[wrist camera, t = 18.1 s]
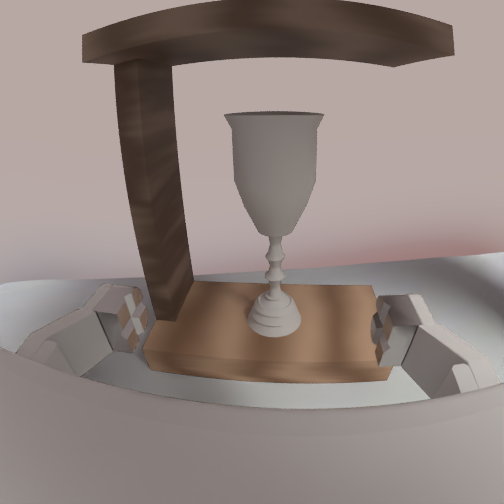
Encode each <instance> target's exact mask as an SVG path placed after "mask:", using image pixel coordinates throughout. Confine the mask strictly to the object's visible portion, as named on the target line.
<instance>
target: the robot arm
mask: <svg viewBox="0 0 504 504" xmlns="http://www.w3.org/2000/svg"><path fill="white" fill-rule="evenodd" d="M142 298H143V296H142V293H141V290H140V289H139V288H138V287H130V286H121V285H111V284H103V285H101V286H100V287H99V288H98V289H97V290H96V292H95V293H94V294H93V295H92V296H91V298H90V299H89V300H88V301H87V303H86V304H85V305H84V306H83V308H82V309H77V310H75V311H73V312H71V313H69V314H67V315H65V316H64V317H62V318H60V319H58V320H56V321H54V322H52V323H50V324H48V325H46V326H44V327H43V328H41V329H39V330H37V331H35V332H33V333H31V334H30V335H29V336H28V338H27V339H26V340H25V342H24V343H23V344H22V345H21V347H20V348H19V349H18V351H17V352H16V353H12V352H10V351H8V350H5V349H3V348H1V347H0V504H504V383H500V381H499V379H498V377H497V375H496V373H495V370H494V368H493V366H492V364H491V362H490V360H489V358H488V357H486V356H485V355H483V354H482V353H481V352H479V351H478V350H476V349H475V348H474V347H472V346H471V345H469V344H468V343H466V342H465V341H464V340H462V339H461V338H459V337H458V336H456V335H455V334H454V333H452V332H451V331H449V330H448V329H446V328H445V327H443V326H442V325H441V324H436V323H435V321H434V319H433V317H432V315H431V313H430V311H429V309H428V307H427V305H426V303H425V302H424V300H423V298H422V296H421V295H420V294H406V295H383V296H378V298H377V301H376V305H375V306H376V309H377V312H376V313H375V314H374V315H373V316H372V320H371V328H370V333H371V339H372V343H374V344H375V345H376V346H377V347H376V350H375V355H376V359H377V363H378V367H386V366H401V367H402V368H403V369H404V370H405V371H406V372H407V374H408V375H409V376H410V377H411V378H412V379H413V380H414V381H415V382H416V383H417V384H418V385H419V386H420V388H421V389H422V390H423V391H424V392H425V393H426V394H427V395H428V396H429V397H430V398H431V399H428V400H422V401H415V402H408V403H400V404H391V405H381V406H370V407H356V408H335V409H278V408H258V407H243V406H232V405H222V404H213V403H204V402H197V401H190V400H183V399H177V398H171V397H165V396H159V395H154V394H149V393H144V392H139V391H134V390H130V389H125V388H121V387H117V386H113V385H109V384H105V383H101V382H98V381H94V380H90V379H87V378H83V377H81V376H82V375H83V374H85V373H86V372H87V371H88V370H90V369H91V368H92V367H93V366H95V365H96V364H97V363H99V362H100V361H101V360H102V359H104V358H105V357H106V356H107V355H109V354H110V353H111V352H113V351H112V350H114V351H121V352H127V353H133V351H134V349H135V348H136V346H137V344H138V342H139V338H138V335H139V334H141V333H143V332H144V330H145V328H146V326H147V321H148V313H147V309H146V307H145V306H144V305H143V303H142V302H141V300H142Z"/></svg>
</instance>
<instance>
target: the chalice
mask: <svg viewBox="0 0 504 504" xmlns="http://www.w3.org/2000/svg"><path fill="white" fill-rule="evenodd" d="M224 116H225V118H226V120H227V121H228V123H229V125H230V127H231V128H232V144H233V165H234V181H235V183H236V186H237V189H238V191H239V194H240V196H241V199H242V202H243V204H244V207H245V208H246V210H247V212H248V214H249V216H250V217H251V219H252V221H253V223H254V225H255V226H256V228H257V230H258V232H259V233H261V234H262V235H265V236H269V241H270V247H269V252H268V253H267V254H266V258H267V259H268V261H269V264H270V268H269V271H268V272H266V274H265V278H266V279H267V280H269V284H270V289H269V291H266V292H264V293H262V294H261V295H260V296H259V297H258V298H257V299H256V300H255V303H254V305H253V307H252V309H251V312H250V313H249V314H248V319H247V321H248V324H249V326H250V327H251V329H252V330H253V331H255V332H256V333H258V334H260V335H263V336H266V337H282V336H286V335H288V334H291V333H293V332H294V331H295V330H296V329H297V328H298V327H299V325H300V323H301V315H300V313H299V311H298V309H297V307H296V305H295V302H294V300H293V298H292V297H291V296H289V295H288V294H287V293H285V292H283V291H281V289H280V284H281V280H282V279H284V278H285V273H284V272H283V271H282V269H281V266H280V265H281V262H282V260H283V259H284V258H285V254H284V253H283V252H282V247H281V240H282V236H284V235H288V234H289V233H291V232H292V231H293V229H294V227H295V226H296V224H297V222H298V220H299V218H300V216H301V214H302V213H303V211H304V209H305V207H306V205H307V203H308V200H309V197H310V195H311V192H312V190H313V187H314V184H315V182H316V155H317V154H316V152H317V128H318V126H319V124H320V122H321V120H322V118H323V116H324V114H319V113H309V112H288V111H269V112H268V111H267V112H266V111H265V112H242V113H232V114H225V115H224Z"/></svg>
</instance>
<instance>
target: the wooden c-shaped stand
mask: <svg viewBox="0 0 504 504" xmlns="http://www.w3.org/2000/svg"><path fill="white" fill-rule="evenodd" d="M452 55H454V41H453V29H452V25H449V24H446V23H443V22H440V21H437V20H433V19H430V18H427V17H423V16H420V15H416V14H412V13H408V12H404V11H400V10H396V9H391V8H386V7H381V6H376V5H370V4H364V3H357V2H350V1H341V0H221V1H213V2H205V3H199V4H193V5H187V6H181V7H176V8H171V9H166V10H162V11H157V12H153V13H149V14H145V15H141V16H138V17H134V18H131V19H128V20H124V21H121V22H118V23H115V24H111V25H108V26H106V27H103V28H100V29H97V30H94V31H92V32H89V33H87V34H84V35H82V61H83V63H98V64H110V65H114V74H115V75H114V76H115V93H116V106H117V118H118V128H119V136H120V145H121V153H122V160H123V168H124V174H125V181H126V187H127V193H128V199H129V205H130V210H131V215H132V220H133V225H134V230H135V235H136V239H137V245H138V249H139V254H140V258H141V262H142V266H143V271H144V275H145V279H146V283H147V286H148V290H149V294H150V298H151V301H152V305H153V309H154V312H155V316H156V319H157V320H156V322H155V324H154V326H153V328H152V330H151V332H150V334H149V336H148V338H147V340H146V342H145V344H144V346H143V348H142V349H143V352H144V355H145V357H146V360H147V362H148V365H149V367H150V369H151V370H156V371H162V372H168V373H175V374H182V375H190V376H198V377H207V378H217V379H227V380H240V381H254V382H275V383H349V382H368V381H383V380H387V379H388V377H389V375H390V372H391V370H392V368H393V366H386V367H378V363H377V359H376V355H375V350H376V347H377V346H376V345H375V344H374V343H372V339H371V333H370V328H371V320H372V316H373V315H374V314H375V313H376V312H377V309H376V306H375V305H376V301H377V299H376V297H375V294H374V291H373V288H372V286H371V285H296V284H280V289H281V291H283V292H285V293H287V294H288V295H289V296H291V297H292V298H293V300H294V302H295V305H296V307H297V309H298V311H299V313H300V315H301V323H300V325H299V327H298V328H297V329H296V330H295V331H294V332H293V333H291V334H288V335H286V336H282V337H266V336H263V335H260V334H258V333H256V332H255V331H253V330H252V329H251V327H250V326H249V324H248V321H247V319H248V314H249V313H250V312H251V309H252V307H253V305H254V303H255V300H256V299H257V298H258V297H259V296H260V295H261V294H262V293H264V292H266V291H269V289H270V284H259V283H231V282H207V281H194V278H193V272H192V265H191V259H190V252H189V245H188V238H187V230H186V223H185V215H184V207H183V200H182V191H181V182H180V172H179V163H178V151H177V140H176V128H175V115H174V100H173V82H172V66H175V65H182V64H188V63H196V62H205V61H214V60H224V59H225V60H226V59H239V58H260V57H261V58H262V57H263V58H264V57H296V58H297V57H299V58H320V59H335V60H345V61H355V62H363V63H371V64H377V65H383V66H390V67H397V66H400V65H405V64H410V63H414V62H419V61H424V60H429V59H435V58H440V57H446V56H452Z"/></svg>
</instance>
